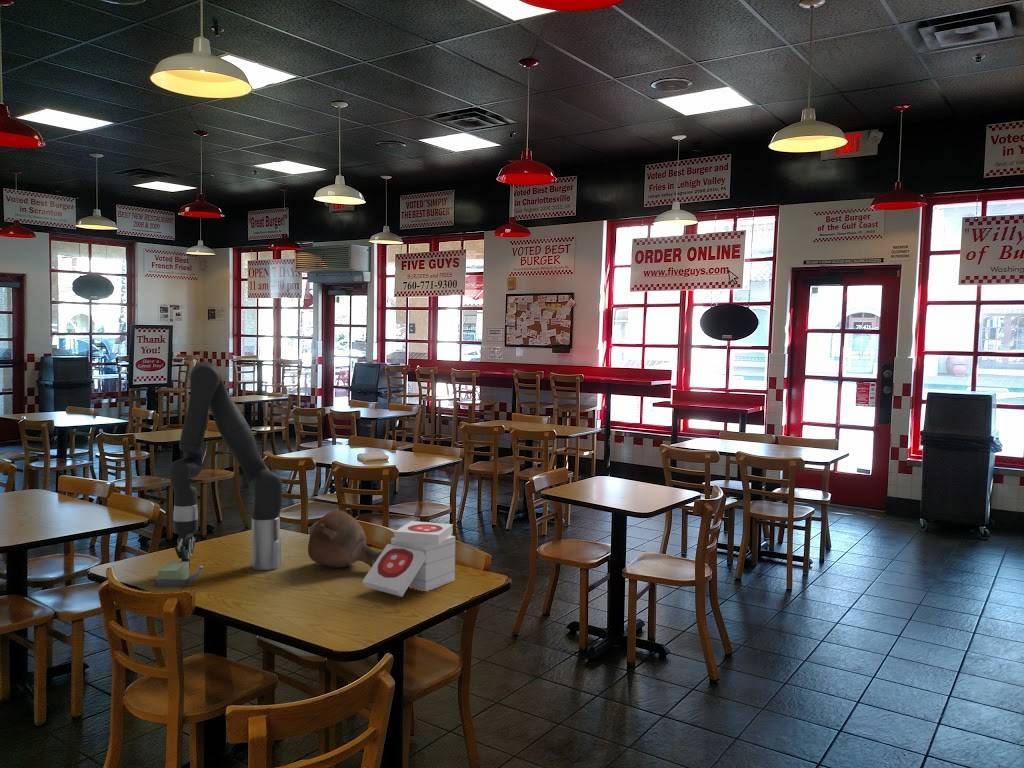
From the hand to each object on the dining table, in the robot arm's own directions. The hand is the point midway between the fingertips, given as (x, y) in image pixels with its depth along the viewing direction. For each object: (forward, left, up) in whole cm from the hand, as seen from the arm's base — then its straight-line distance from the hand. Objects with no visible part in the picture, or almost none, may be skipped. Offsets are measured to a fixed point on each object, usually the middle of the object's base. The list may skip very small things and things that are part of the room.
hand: (185, 569), depth 257 cm
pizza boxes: (-76, +13, -2) cm, 77 cm away
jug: (-53, -7, -2) cm, 53 cm away
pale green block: (+1, +8, -2) cm, 8 cm away
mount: (0, +6, -2) cm, 6 cm away
